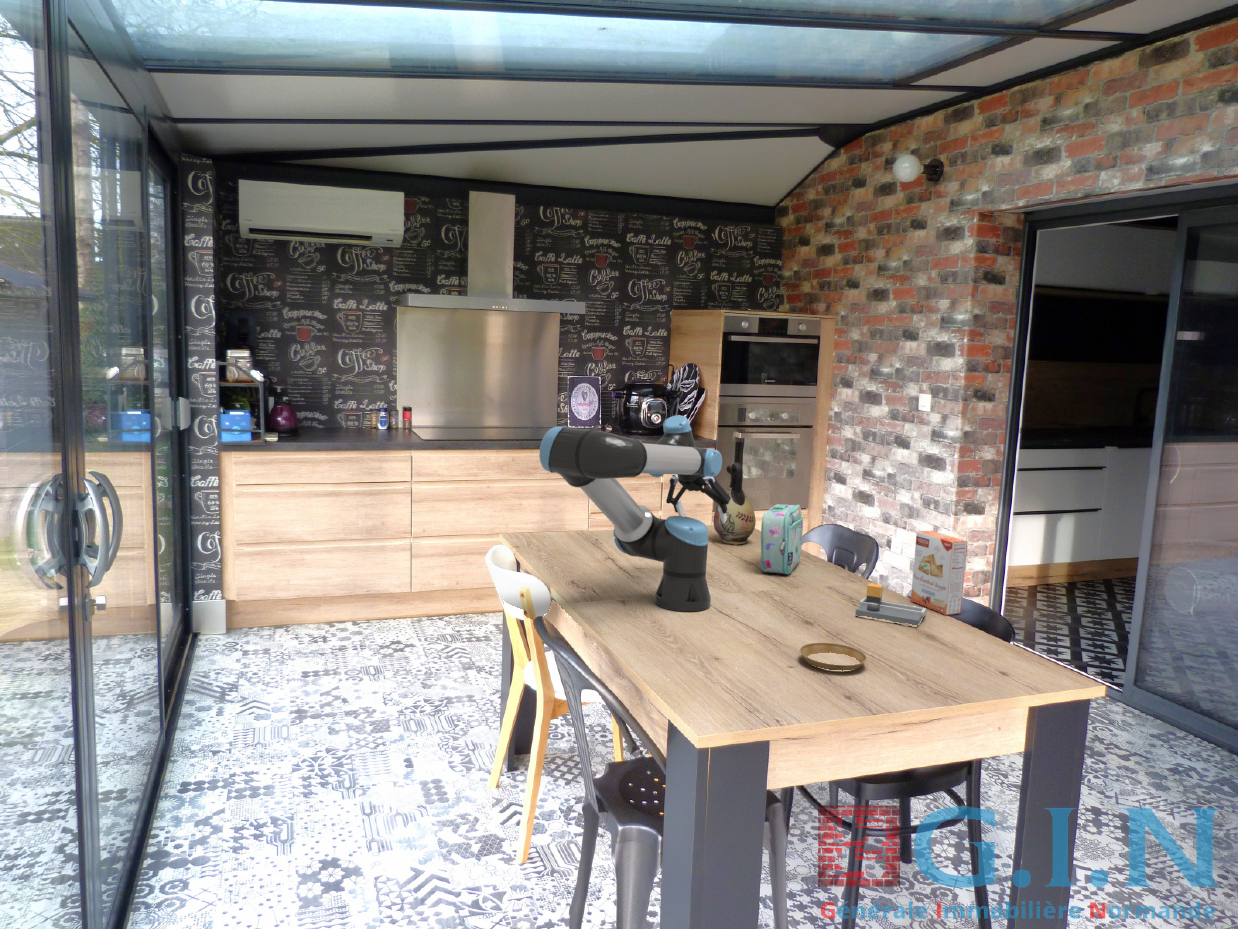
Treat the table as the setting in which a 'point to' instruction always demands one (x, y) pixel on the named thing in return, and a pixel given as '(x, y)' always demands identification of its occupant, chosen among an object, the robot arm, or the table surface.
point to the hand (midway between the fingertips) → (703, 520)
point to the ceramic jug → (735, 511)
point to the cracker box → (939, 572)
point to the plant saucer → (833, 648)
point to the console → (891, 611)
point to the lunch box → (781, 538)
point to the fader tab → (874, 593)
